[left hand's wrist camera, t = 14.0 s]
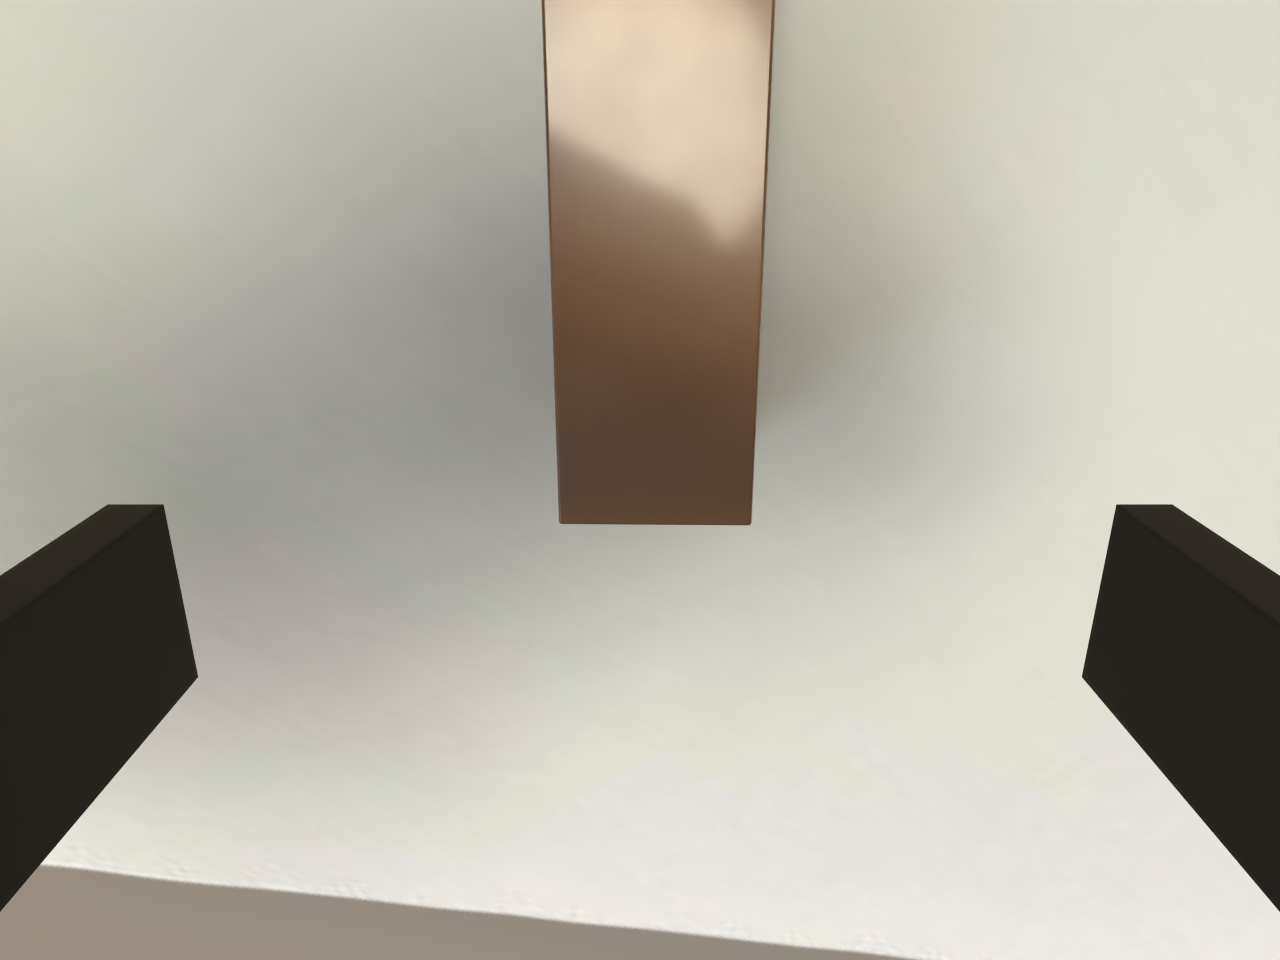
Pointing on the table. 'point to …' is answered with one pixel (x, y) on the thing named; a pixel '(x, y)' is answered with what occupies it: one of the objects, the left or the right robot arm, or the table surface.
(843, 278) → the table surface
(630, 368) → the post
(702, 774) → the table surface
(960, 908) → the table surface
